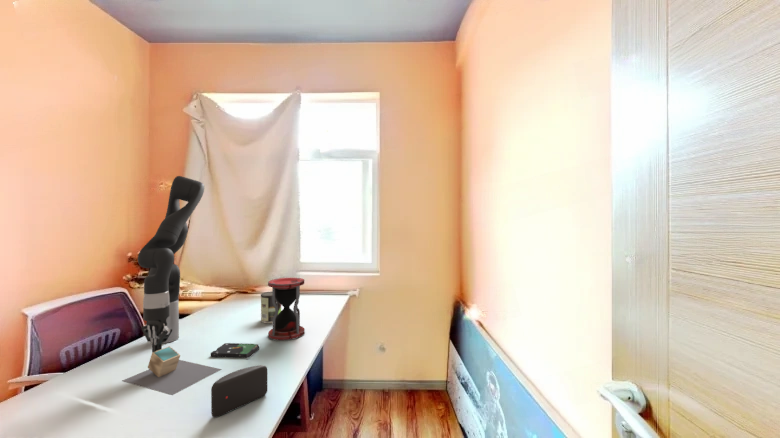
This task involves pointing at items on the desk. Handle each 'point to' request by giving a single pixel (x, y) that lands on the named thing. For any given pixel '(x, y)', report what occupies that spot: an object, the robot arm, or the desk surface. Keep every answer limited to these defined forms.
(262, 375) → the leaning round-cornered charcoal block
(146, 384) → the rubber mat
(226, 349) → the disk drive
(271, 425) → the desk surface
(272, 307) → the coffee can
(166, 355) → the oak cube
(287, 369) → the desk surface
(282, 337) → the hourglass
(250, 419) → the desk surface
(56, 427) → the desk surface
